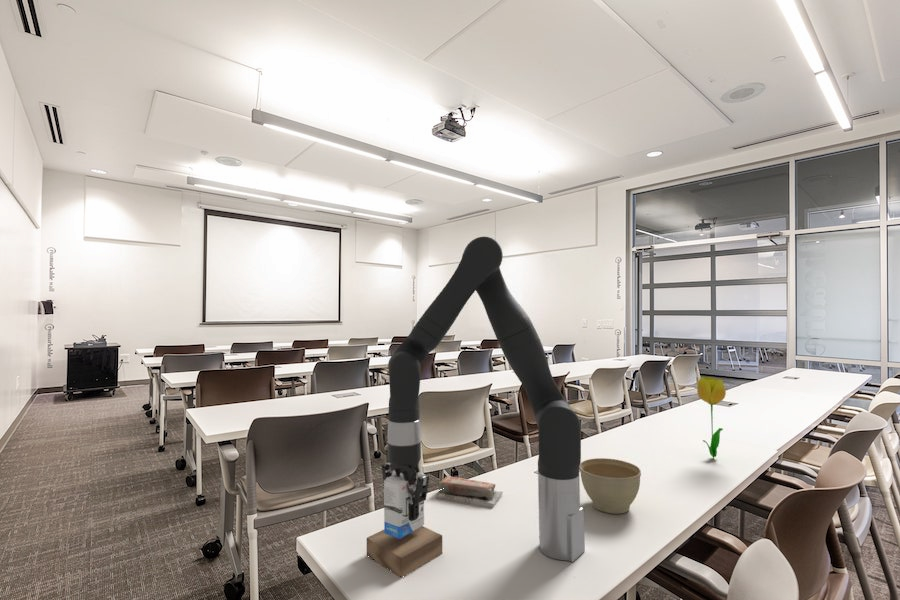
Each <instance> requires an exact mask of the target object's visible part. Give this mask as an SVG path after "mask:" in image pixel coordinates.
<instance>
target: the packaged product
mask: <svg viewBox="0 0 900 600" xmlns="http://www.w3.org/2000/svg"><path fill="white" fill-rule="evenodd" d="M443 488H444V489H443ZM495 488H496V484H495V483H492V482H487V481H479V480H474V479H468V478H461V477H456V476H449V475H448V476H445V477H444V478H443V479H442V480H441V481H439V483H438V492H437V493H436V495H435V499H439V500H445V501H449V502H454V503H459V502H461V504H466V505H470V504H472V505H471V506H477V505H478V506H479V507H483V506H484V508H489V507H490V509H493V508H495V506H496V505H497V503H498V502H499V501H500V499H501V498H502V497H503V492H504V491H497V490H495ZM440 489H442V490H440ZM439 490H440V491H439ZM478 506H477V507H478Z"/></svg>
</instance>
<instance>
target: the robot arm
mask: <svg viewBox="0 0 900 600" xmlns="http://www.w3.org/2000/svg"><path fill="white" fill-rule="evenodd" d="M503 257H504V256H503V249H502V247H501V245H500V244H499V242H498V241H497V240H496V239H494V238H493V237H489V236H479V237H476V238H474V239H472V240H471V241H470V242H469V243H467V245H466V246H465V248H464V251H463V253H462V256H461V259H460V261H459V263H458V265H457V267H456V269H455V270H454V273H453V274H452V275H451V277H450V278H449V280H448V281H447V283H446V284H445V286H444V287H443V288H442V289H441V291H440V292H439V294H437V296H436V297H435V298H434V300H433V301H432V302H431V304H430V305H429V306H427V308H426V310H424V313H423V314H422V315H421V316H420V318H419V319H418V321H417V322H416V324H415V325H414V327H413V328H412V329H411V331H410V333H409V335H408V336H407V337H406V338H405V339H404V340H403V341H402V342H401V343H400V345H399V346H398V347H397V348H396V350H395V351H394V352H393V354H392V355H391V357H390V358H389V360H388V363H387V367H388V368H387V369H388V379H389V396H390V397H389V399H388V425H387V461H388V462H385V463H383V464H381V472H382V479H383V482H384V480H386V478H387V477H390V476H393V477H400V478H401V480H403V481H408V482H407V483H406V492H407V494H408V500H409V520H410V521H414V520H416V519H417V518H418V517H419V503H420V502H422V501H424V502H425V501H426V500H427V495H428V488H429V483H430V481H429V480H430V475H428V474H427V473H426V474H424V473H423V474H424V475H423V474H421V473H422V472H421V471H420V466H419V463H420V461H421V458H422V443H421V442H422V430H421V422H420V419H421V418H420V396H419V395H420V387H421V366H422V364H423V363H424V361H425V359H426V358H427V357H428V356H429V354H430V353H431V352H433V351H434V350H435V349H436V348H437V347H438V346H439V345H440V343H441V342H442V340H443V339H444V338H445V336H446V335H447V333H448V332H449V330H450V329H451V327H452V326H453V325H454V323H455V322H456V320H457V318H458V317H459V315H460V314H461V312H462V311H463V309H464V307H465V305H466V304H467V302H468V301H469V300H470V298H471V297H472V296H473V294H474V293H475V292H476V294H477V295H478V296H479V298H480V301H481V302H482V305H483V307H484V309H485V313H486V315H487V317H488V322H489V323H490V326H491V328H492V330H493V332H494V335H495V338H496V340H497V341H498V344H499V346H500V349H501V351H502V353H503V355H504V357H505V359H506V360H507V362H508V364H509V366H510V368H511V369H512V371H513V373H514V374H515V376H516V377H517V378H518V380H519V381H520V383H521V385H522V386H523V389H524V390H525V392H526V394H527V397H528V400H529V403H530V405H531V408H532V411H533V414H534V417H535V423H536V426H537V429H538V430H537V431H538V434H537V435H538V458H537V477H538V478H537V481H538V482H537V483H538V484H537V485H538V486H537V487H538V489H537V490H538V497H537V498H538V531H539V532H538V533H539V534H538V535H539V536H538V538H539V541H538V542H539V550H540V551H541V552H542V554H544V555H545V556H547V557H549V558H551V559H555V560H561V561H567V562H568V561H569V562H571V563H572V562H575V560H577V559H578V558H579V557H580V556H582V554H583V553H584V552H585V551H586V548H585V547H586V542H585V541H586V540H585V511H584V510H585V509H584V508H583V506H582V507H581V497H580V495H581V494H580V493H581V489H580V468H579V466H580V463H581V462H582V434H581V433H582V431H581V422H580V419H579V417H578V415H577V413H576V412H575V410H574V409H573V408H572V407H571V406H570V403H568V402H567V400H566V399H565V397H564V395H563V394H562V391H561V390H560V389H559V387H558V384H557V383H556V381H555V379H554V377H553V375H552V372H551V369H550V365H549V362H548V359H547V356H546V355H547V354H546V352H545V349H544V346H543V343H542V341H541V339H540V336H539V334H538V332H537V330H536V328H535V325H534V324H533V322H532V320H531V318H530V317H529V315H528V314H527V312H526V311H525V310H524V308H523V307H522V306H521V304H520V303H519V302H518V301H517V299H516V298H515V297H514V296H513V295H512V293H511V292H510V290H509V288H508V286H507V283H506V281H505V279H504V276H503V274H502V271H501V268H500V267H501V265H502V262H503ZM414 483H415V484H416V485H415V487H413V488H411V489H410V488H409V485H413V484H414ZM408 484H409V485H408ZM413 491H414V495H415V497H413V495H412V492H413ZM420 495H421V496H420Z"/></svg>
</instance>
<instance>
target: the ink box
mask: <svg viewBox="0 0 900 600" xmlns="http://www.w3.org/2000/svg"><path fill="white" fill-rule="evenodd" d="M420 473H421V474H423V475H425V473H423V472H420ZM407 482H408V481H403V480H401V478H400V477H393V476H390V477H387V478H386V480H384V481H383V487H384V488H383V503H384V505H383V506H384V507H383V513H384V515H383V517H384V520H383V521H384V522H383V523H384V524H383V525H384V526H383V527H384V529H383V530H384V533H385V534H388V535H390V536H393V537H395V538H398V539H401V538H403V537H404V536H406V535H408V534H409V533H411V532H413V531H414V530H416V529H418V528H419V527H421V526H423V527H424V525H425V501H422V502H420V503H419V517H418V518H417V519H416V520H414V521H410V520H409V500H408V494H407V492H406V483H407ZM408 485H409V484H408ZM415 485H416V484H415V483H414V484H413V485H409V488H410V489H411V488H413V487H415ZM412 495H413V497H415V495H414V491H413V492H412ZM420 496H421V495H420Z"/></svg>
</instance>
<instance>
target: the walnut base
mask: <svg viewBox="0 0 900 600" xmlns="http://www.w3.org/2000/svg"><path fill="white" fill-rule="evenodd" d="M441 555H443V535H442V534H441V533H439V532H436V531H434V530H432V529H430V528H427V526H426V527H425V526H424V525H423V526H421V527H419V528H418V529H416V530H414V531H413V532H411V533H409V534H408V535H406V536H404V537H403V538H401V539H398V538H395V537H393V536H390V535H388V534H385V533H384V529H382V530H380V531H378V532H376V533H374V534H372V535H369V536H367V537H366V557H367V556H369V557H370V558H372V559H374V560H375V561H376V562H375V561H374V560H373V561H374V562H375V563H377V562H378V563H377V564H378V565H380V564H381V565H380V566H382V565H383V566H384V568H385V567H386V568H385V569H387V568H388V569H389V570H388V569H387V570H388V571H390V570H391V571H392V572H391V571H390V572H391V573H393V572H394V574H395V573H396V574H397V575H396V574H395V575H396V576H398V575H399V576H401V577H403V576H405V575H406V576H408V575H410V574H411V573H413V572H414V571H416V570H418V569H419V568H421V567H422V565H423V566H424V565H426V564H428V563H430V562H431V561H432V560H434V559H436V558H437V557H439V556H441ZM369 557H368V558H369ZM370 558H369V559H370ZM372 559H371V560H372ZM427 562H428V563H427ZM383 566H382V567H383ZM417 568H418V569H417ZM415 569H416V570H415ZM412 571H413V572H412ZM409 573H410V574H409ZM407 574H408V575H407ZM399 576H398V577H399ZM406 576H405V577H406ZM401 577H400V578H401ZM403 578H404V577H403Z"/></svg>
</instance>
